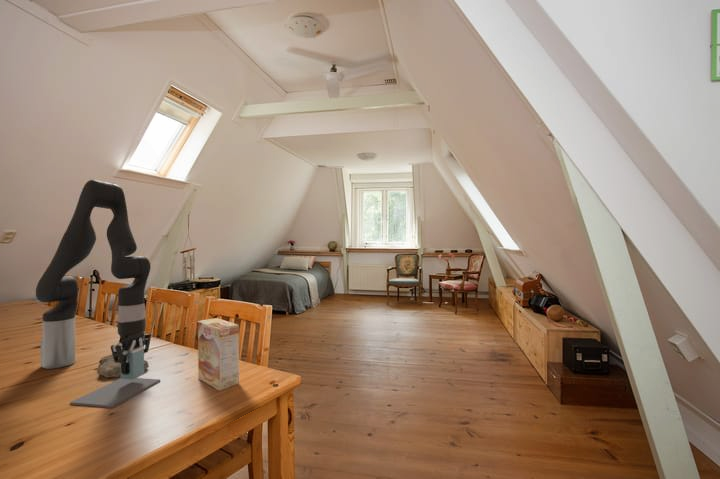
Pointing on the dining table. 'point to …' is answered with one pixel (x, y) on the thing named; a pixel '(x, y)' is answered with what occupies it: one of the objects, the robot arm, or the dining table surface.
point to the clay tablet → (112, 367)
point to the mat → (115, 392)
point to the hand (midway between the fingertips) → (132, 370)
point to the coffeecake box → (218, 353)
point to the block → (135, 364)
